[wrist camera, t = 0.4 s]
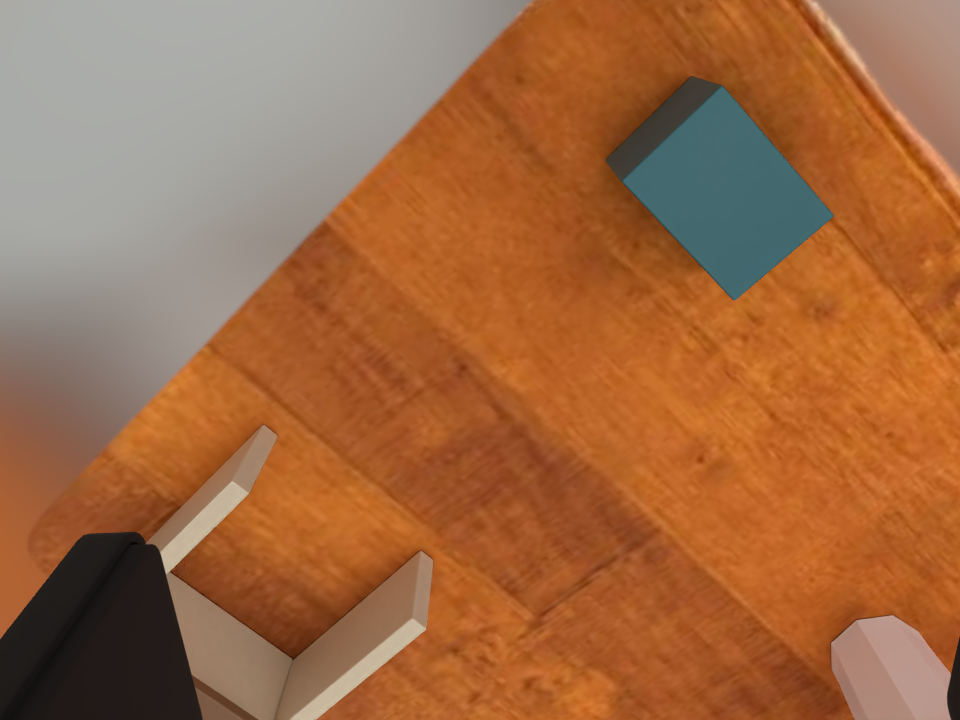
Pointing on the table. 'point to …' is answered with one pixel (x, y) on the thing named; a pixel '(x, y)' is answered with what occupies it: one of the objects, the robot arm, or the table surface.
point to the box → (718, 185)
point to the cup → (889, 672)
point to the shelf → (250, 658)
